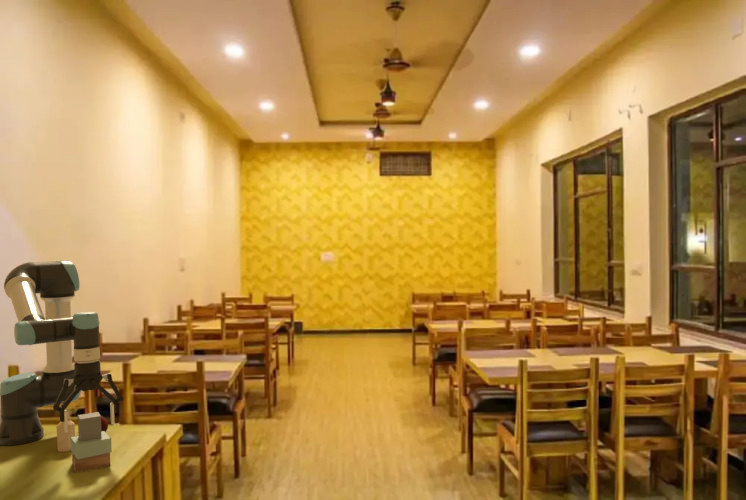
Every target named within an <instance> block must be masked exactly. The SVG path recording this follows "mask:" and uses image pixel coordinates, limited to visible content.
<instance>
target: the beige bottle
mask: <svg viewBox="0 0 746 500" xmlns="http://www.w3.org/2000/svg"><path fill="white" fill-rule="evenodd" d="M67 424H68V432H67V433H65V431H64V422H61V421H59V423H58V424H57V425H56V441H57V445H56V446H57V451H58V452H60V453H65V452H71V437H75V436H76V431H75V430H76V429H75V428H76V426H75V422H74V421H72V420H71V419H70V418H69V419H67Z"/></svg>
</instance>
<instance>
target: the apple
mask: <svg viewBox="0 0 746 500" xmlns="http://www.w3.org/2000/svg"><path fill="white" fill-rule="evenodd" d="M100 416H101V431H104V432H105V433H106V432H107V431H108V428H109V421H108V420H107V419H106V417H104V416H103V415H101V414H100Z"/></svg>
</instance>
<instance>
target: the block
mask: <svg viewBox="0 0 746 500" xmlns="http://www.w3.org/2000/svg"><path fill="white" fill-rule="evenodd" d="M100 415H101V414H100V412H99V411H95V412H89V413H83V414H77V428H78V429H77V430H78V432H77V433H78V435H77V436H79V439H80V441H81V442H82V441H88V440H93V439H99V438H102V435H101V416H102V415H101V416H100Z"/></svg>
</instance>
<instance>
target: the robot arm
mask: <svg viewBox="0 0 746 500" xmlns="http://www.w3.org/2000/svg"><path fill="white" fill-rule="evenodd" d="M78 273H79V272H78V270H77V267H76V264H74V262H72V261H67V260H64V261H63V260H62V261H61V260H56V261H55V260H54V261H38V262H37V261H35V262H34V261H33V262H32V261H31V262H30V261H29V262H25V263H22V264H19V265H18V266H16V267H15V268H13V269H12V270H11V271H10V272H9V273H8V274H7V276H6V278H5V279H4V283H3V287H4V292H5V294H6V296H7V297H8V299H11V300H10V301H11V303H12V305H13V310H14V312H15V316H16V319H17V321H18V322H15V324H14V327H13V328H14V329H13V330H14V341H15V344H17V345H18V346H32V345H38V344H39V345H40V344H45V347H46V352H45V353H46V366H44V367H43V369H42V373H41V375H37V373H36V372H24V373H20V374H14V375H12V376H9V377H7V378H4V379H3V380H2V381H1V382H0V446H16V445H22V444H27V443H32V442H35V441H38V440H40V439H43V437H44V435H45V434H44V433H45V432H44V427H43V425H42V423H41V420H40V417H39V415H38V413H39V412H38V408H44V407H51V406H52V409H53V411H55V412H59V420H60V421H59V422H64V431H65V433H67V432H68V424H67V420H68V411H67V408H68V406H69V405H70V404H71V402H76V401H77V400H78V399H80V396H81V393H82V392H87V391H94V390H96V389H97V390H99V391H100V392H101V393H102V394H104V395H105V396H106V397H107V399H109V400H110V401H111V402H110V403H109V409H110V413H109V414H110V425H115V421H116V420H115V414H118V411H119V409H118V407H119V406H118V403H120V402H121V401H122V402H123V400H124V397H123V395H122V393H121V392H120V390H119V389H118V387H117V385H116V384H115V382H114V381H113V376H112V374H111V373H110V372H107V373H106V374H102V372H101V370H102V369H101V361H100V359H101V351H100V350H101V349H100V348H101V347H100V320H99V314H98V312H97V311H81V312H76V313H74V314H73V315H71V313H72V312H71V311H72V310H71V307H72V306H71V302H72V301H71V300H73V298H74V297H75V292H79V290H80V285H81V284H80V277H79V274H78ZM37 294H39V296H40V297H39V299H41V300H42V301H43V302H44V309H45V310H44V311H45V312H44V313H45V314H44V313H43V310H42V307H41V304H40V302H39V299H38V297H37ZM72 341H73V342H72ZM72 343H73V346H72ZM72 348H73V349H72ZM72 351H73V352H72ZM72 353H73V354H72ZM73 361H75V362H74V363H73ZM103 379H104V381H106V382H108V385H110V389H112V391H113V393H114V394H115V395H116V397H114V396H113V395H112V394H111V393H110V392H109V391H107V389H106V388H105V387H103V386H102V385H101V384H100V383H101V381H103Z"/></svg>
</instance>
